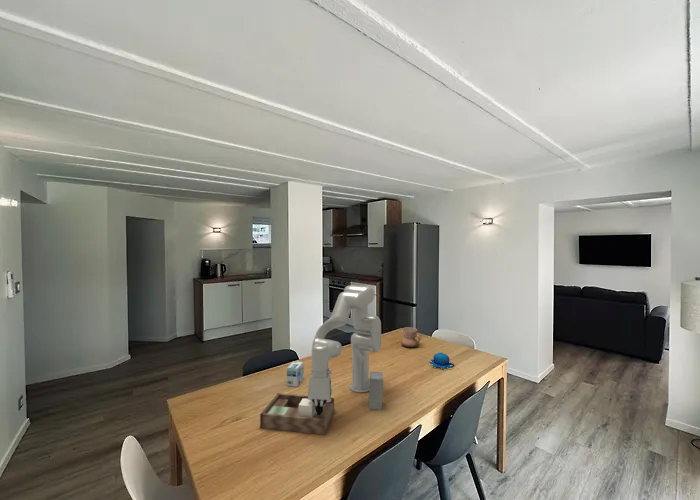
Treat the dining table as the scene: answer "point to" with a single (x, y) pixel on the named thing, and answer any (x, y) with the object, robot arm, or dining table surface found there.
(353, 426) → the dining table surface
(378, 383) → the skincare box
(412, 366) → the dining table surface
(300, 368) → the light bulb box
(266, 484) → the dining table surface
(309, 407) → the cream block
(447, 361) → the plush toy
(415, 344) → the ceramic jug
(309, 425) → the box
